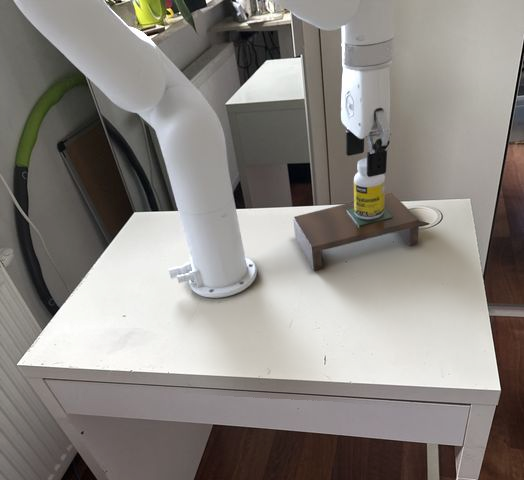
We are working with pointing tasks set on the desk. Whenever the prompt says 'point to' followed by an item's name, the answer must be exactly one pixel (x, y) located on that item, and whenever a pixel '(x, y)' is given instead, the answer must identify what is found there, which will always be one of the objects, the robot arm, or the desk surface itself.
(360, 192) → the supplement bottle
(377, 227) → the shelf
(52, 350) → the desk surface
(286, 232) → the desk surface
